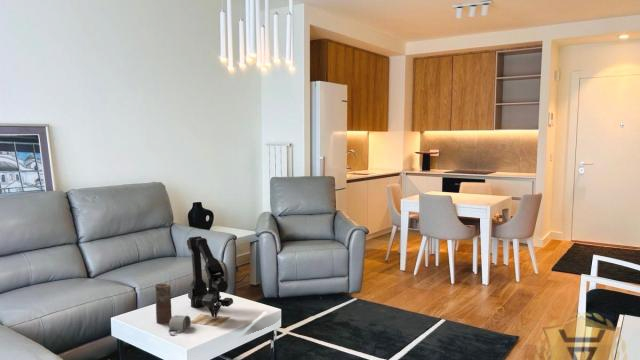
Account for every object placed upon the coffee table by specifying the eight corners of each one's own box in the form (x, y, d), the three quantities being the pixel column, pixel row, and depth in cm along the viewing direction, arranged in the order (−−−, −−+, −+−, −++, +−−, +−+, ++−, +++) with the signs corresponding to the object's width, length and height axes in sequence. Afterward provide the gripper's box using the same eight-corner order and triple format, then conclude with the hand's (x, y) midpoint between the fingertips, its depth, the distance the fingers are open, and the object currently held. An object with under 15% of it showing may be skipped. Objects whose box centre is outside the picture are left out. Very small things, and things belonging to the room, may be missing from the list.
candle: (155, 322, 240) (154, 283, 239) (170, 319, 243) (170, 281, 242) (157, 327, 233) (156, 287, 232) (172, 325, 236) (171, 285, 235)
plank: (189, 324, 236) (189, 321, 236) (201, 315, 248) (201, 313, 248) (201, 326, 235) (201, 324, 234) (213, 317, 246) (213, 315, 246)
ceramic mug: (176, 327, 234) (175, 312, 233) (191, 328, 232) (190, 313, 231) (164, 335, 224) (163, 320, 223) (179, 337, 222) (179, 321, 221)
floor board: (202, 327, 234) (202, 324, 234) (215, 317, 246) (215, 315, 246) (219, 328, 231) (219, 326, 231) (231, 319, 244) (231, 317, 244)
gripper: (189, 290, 236) (189, 321, 237) (223, 293, 231) (223, 324, 232) (200, 284, 247) (201, 313, 248) (233, 286, 242) (233, 316, 243)
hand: (214, 317), depth 242 cm, fingers closed
